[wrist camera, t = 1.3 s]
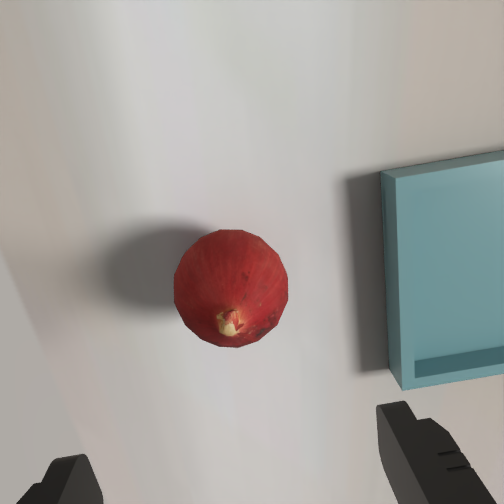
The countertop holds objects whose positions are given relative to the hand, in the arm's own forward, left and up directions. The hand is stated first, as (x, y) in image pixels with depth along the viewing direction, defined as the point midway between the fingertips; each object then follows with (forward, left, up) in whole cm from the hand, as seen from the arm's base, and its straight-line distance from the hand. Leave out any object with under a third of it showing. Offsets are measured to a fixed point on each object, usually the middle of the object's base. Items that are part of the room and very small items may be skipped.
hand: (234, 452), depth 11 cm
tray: (+3, +16, -14) cm, 21 cm away
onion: (0, 0, -14) cm, 14 cm away
